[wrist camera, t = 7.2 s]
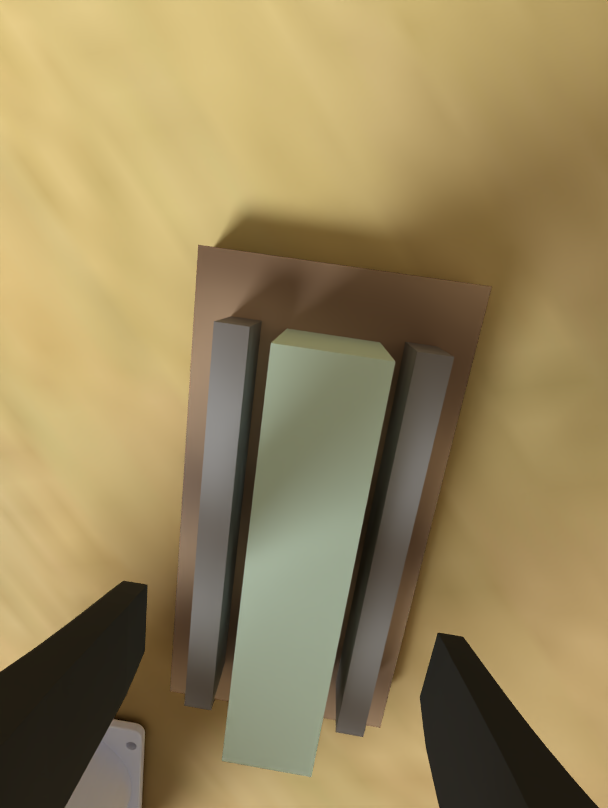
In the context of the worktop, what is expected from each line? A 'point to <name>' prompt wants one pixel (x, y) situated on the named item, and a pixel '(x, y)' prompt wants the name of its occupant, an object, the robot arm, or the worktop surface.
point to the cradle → (239, 442)
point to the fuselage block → (302, 541)
